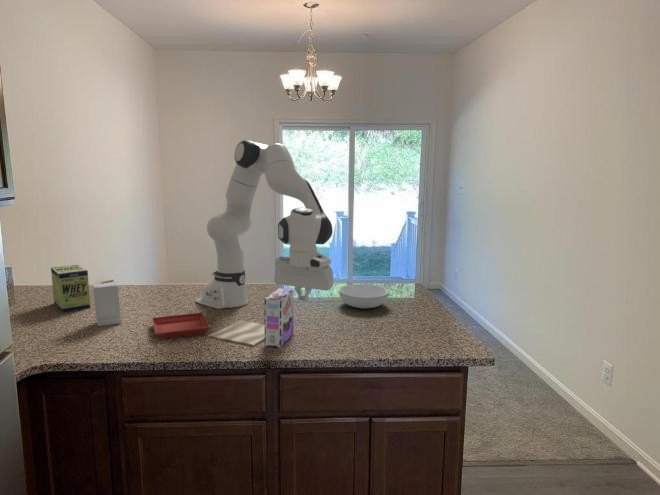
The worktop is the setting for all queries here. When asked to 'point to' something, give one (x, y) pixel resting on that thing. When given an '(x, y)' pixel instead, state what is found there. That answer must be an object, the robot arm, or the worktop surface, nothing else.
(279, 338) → the candy box
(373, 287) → the serving bowl
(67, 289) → the protein box
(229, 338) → the birch board
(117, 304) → the skincare box
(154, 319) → the plant saucer
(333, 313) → the worktop surface
